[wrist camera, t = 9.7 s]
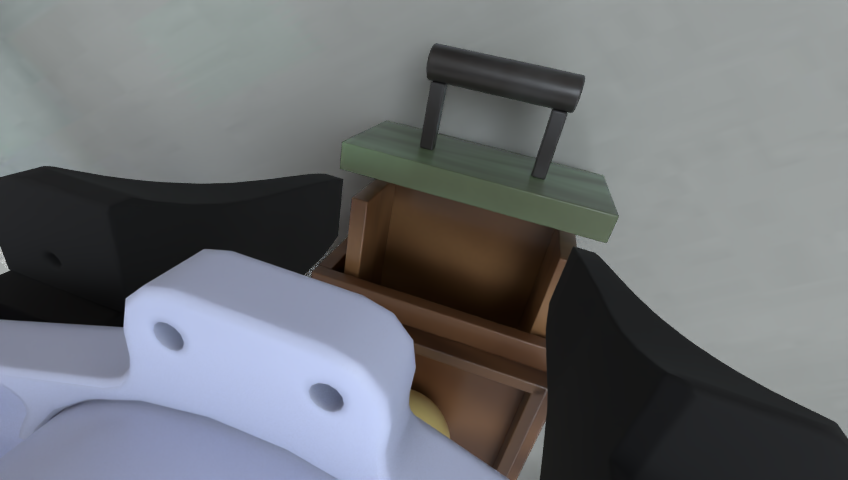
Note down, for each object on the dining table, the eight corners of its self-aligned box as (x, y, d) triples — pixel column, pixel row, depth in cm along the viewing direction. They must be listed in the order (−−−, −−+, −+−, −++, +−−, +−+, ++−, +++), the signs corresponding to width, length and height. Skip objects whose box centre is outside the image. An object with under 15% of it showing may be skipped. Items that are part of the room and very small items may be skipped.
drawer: (397, 30, 19) (350, 28, 15) (642, 83, 17) (673, 98, 13) (359, 317, 28) (322, 371, 23) (522, 372, 26) (515, 442, 21)
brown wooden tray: (313, 450, 25) (304, 465, 24) (324, 296, 20) (314, 308, 19) (481, 518, 24) (479, 536, 23) (548, 372, 18) (548, 389, 17)
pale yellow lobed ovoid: (360, 441, 24) (315, 530, 19) (375, 351, 20) (324, 435, 16) (441, 475, 23) (413, 576, 19) (471, 387, 19) (445, 486, 15)
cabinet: (368, 216, 25) (310, 271, 19) (570, 276, 23) (577, 358, 17) (347, 379, 32) (300, 457, 26) (502, 436, 30) (490, 534, 24)
